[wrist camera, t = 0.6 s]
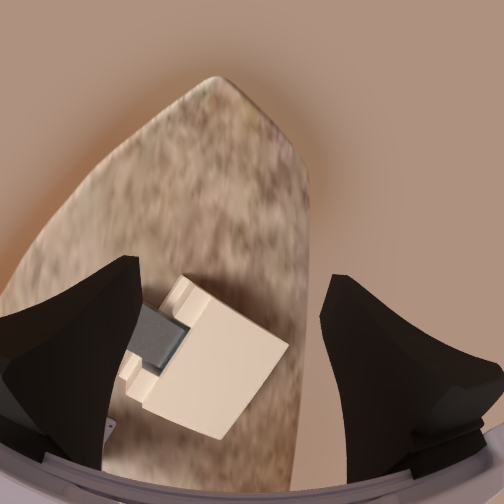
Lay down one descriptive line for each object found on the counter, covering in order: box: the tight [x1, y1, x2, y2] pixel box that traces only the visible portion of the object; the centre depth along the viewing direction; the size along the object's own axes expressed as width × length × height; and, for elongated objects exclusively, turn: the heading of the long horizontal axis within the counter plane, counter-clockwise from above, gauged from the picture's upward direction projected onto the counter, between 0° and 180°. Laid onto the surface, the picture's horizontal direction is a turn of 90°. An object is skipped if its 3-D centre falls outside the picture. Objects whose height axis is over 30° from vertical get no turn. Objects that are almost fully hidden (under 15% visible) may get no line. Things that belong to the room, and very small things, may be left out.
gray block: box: [127, 299, 190, 370], centre depth 29 cm, size 5×12×2 cm, turn 55°
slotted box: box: [119, 274, 289, 440], centre depth 30 cm, size 13×14×6 cm
